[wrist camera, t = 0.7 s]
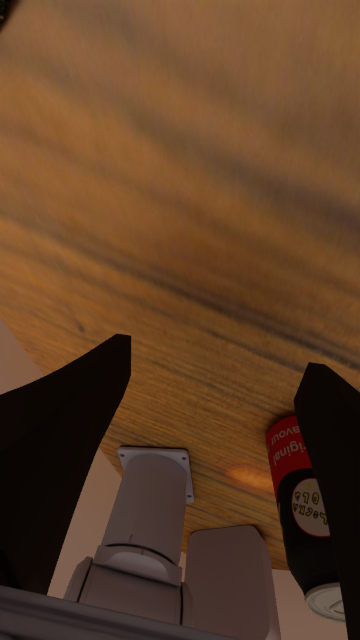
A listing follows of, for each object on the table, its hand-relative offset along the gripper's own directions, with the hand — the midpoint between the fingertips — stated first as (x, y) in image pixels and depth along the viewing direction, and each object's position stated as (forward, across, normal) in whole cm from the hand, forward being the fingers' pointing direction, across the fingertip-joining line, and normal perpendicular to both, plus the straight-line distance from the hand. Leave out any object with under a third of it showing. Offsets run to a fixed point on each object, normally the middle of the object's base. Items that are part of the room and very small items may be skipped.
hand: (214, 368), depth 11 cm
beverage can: (+10, -10, +14) cm, 20 cm away
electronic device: (+10, -7, +36) cm, 38 cm away
